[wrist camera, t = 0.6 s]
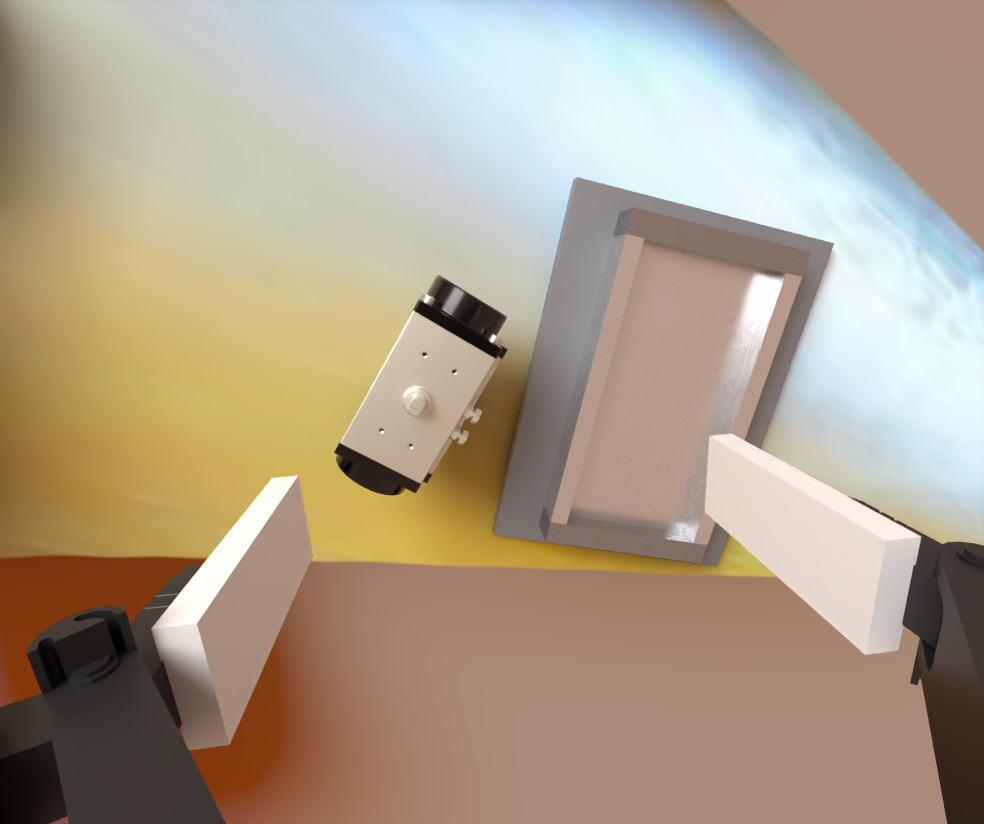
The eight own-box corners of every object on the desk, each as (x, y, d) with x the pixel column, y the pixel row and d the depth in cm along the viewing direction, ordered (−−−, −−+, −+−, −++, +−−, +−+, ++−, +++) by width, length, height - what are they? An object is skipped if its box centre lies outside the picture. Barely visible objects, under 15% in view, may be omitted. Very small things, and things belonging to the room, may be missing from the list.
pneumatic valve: (356, 416, 36) (315, 484, 24) (436, 272, 34) (433, 272, 22) (423, 452, 37) (415, 532, 25) (505, 315, 35) (537, 335, 23)
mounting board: (492, 528, 39) (493, 535, 38) (573, 180, 33) (577, 177, 32) (710, 559, 42) (716, 566, 41) (823, 244, 36) (834, 243, 35)
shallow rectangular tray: (539, 524, 38) (545, 541, 36) (619, 212, 33) (633, 207, 30) (685, 546, 40) (700, 563, 38) (785, 253, 34) (811, 251, 32)
